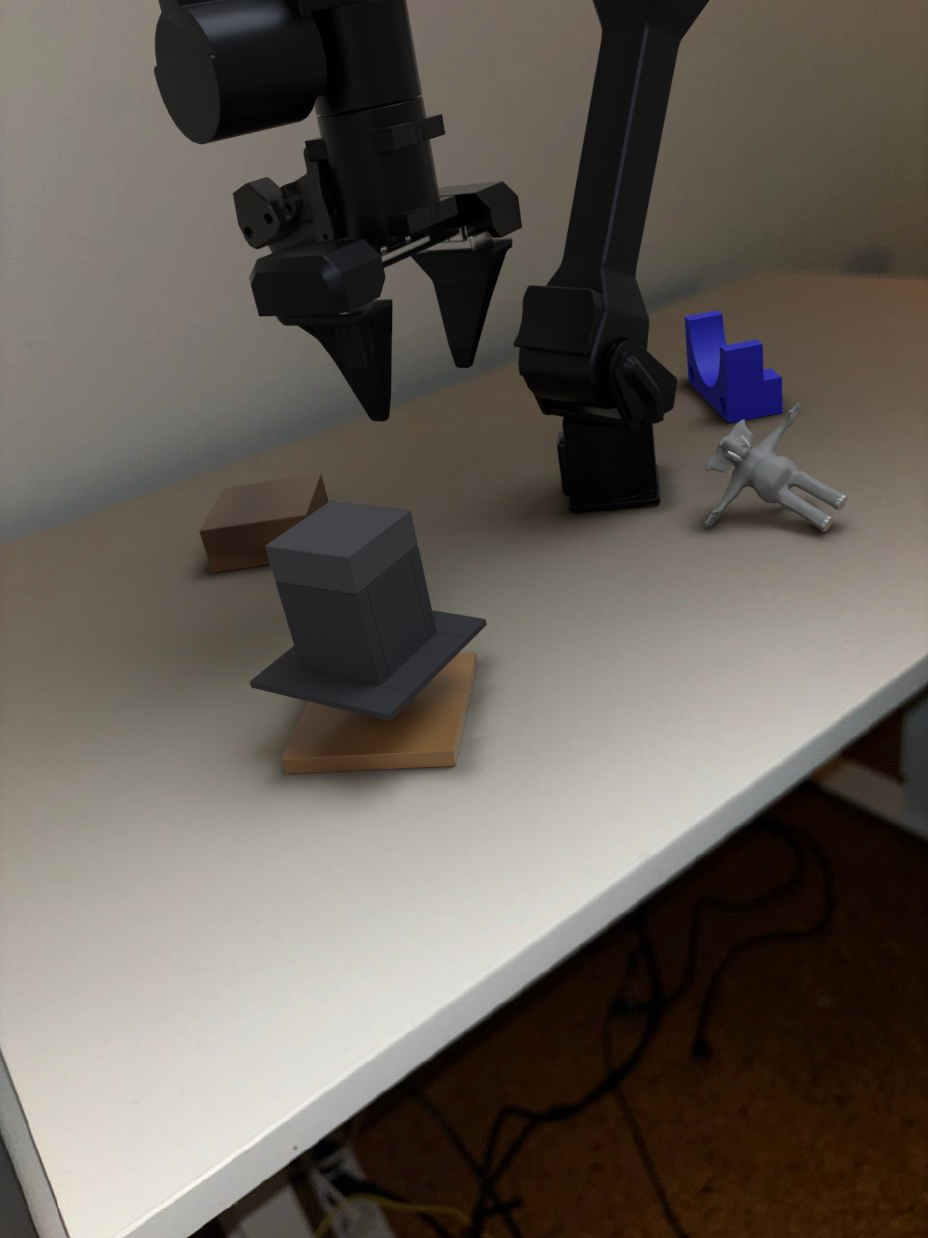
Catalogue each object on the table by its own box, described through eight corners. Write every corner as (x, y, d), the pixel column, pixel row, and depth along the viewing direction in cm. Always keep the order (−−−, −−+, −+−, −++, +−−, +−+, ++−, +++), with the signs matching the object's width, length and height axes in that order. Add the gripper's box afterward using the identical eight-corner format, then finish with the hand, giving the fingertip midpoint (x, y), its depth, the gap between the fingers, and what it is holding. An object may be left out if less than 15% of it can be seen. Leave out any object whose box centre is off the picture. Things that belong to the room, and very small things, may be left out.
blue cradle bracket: (782, 412, 84) (781, 340, 81) (728, 422, 84) (725, 351, 81) (736, 372, 95) (734, 306, 92) (688, 381, 95) (684, 316, 92)
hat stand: (478, 666, 59) (451, 524, 54) (455, 766, 51) (422, 610, 47) (328, 676, 60) (290, 539, 56) (285, 774, 53) (237, 625, 48)
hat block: (331, 512, 82) (321, 472, 80) (317, 557, 75) (306, 514, 73) (235, 527, 83) (222, 487, 81) (212, 573, 76) (198, 530, 74)
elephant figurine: (779, 567, 63) (666, 493, 67) (795, 591, 68) (688, 521, 72) (883, 434, 62) (761, 368, 66) (890, 469, 67) (777, 405, 72)
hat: (354, 602, 59) (324, 482, 55) (487, 625, 54) (463, 495, 51) (251, 688, 53) (208, 559, 49) (390, 721, 48) (355, 582, 44)
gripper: (355, 99, 65) (403, 343, 72) (135, 154, 52) (222, 444, 59) (507, 74, 59) (542, 343, 67) (302, 130, 46) (374, 455, 54)
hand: (424, 392), depth 62 cm, fingers open, 9 cm apart
